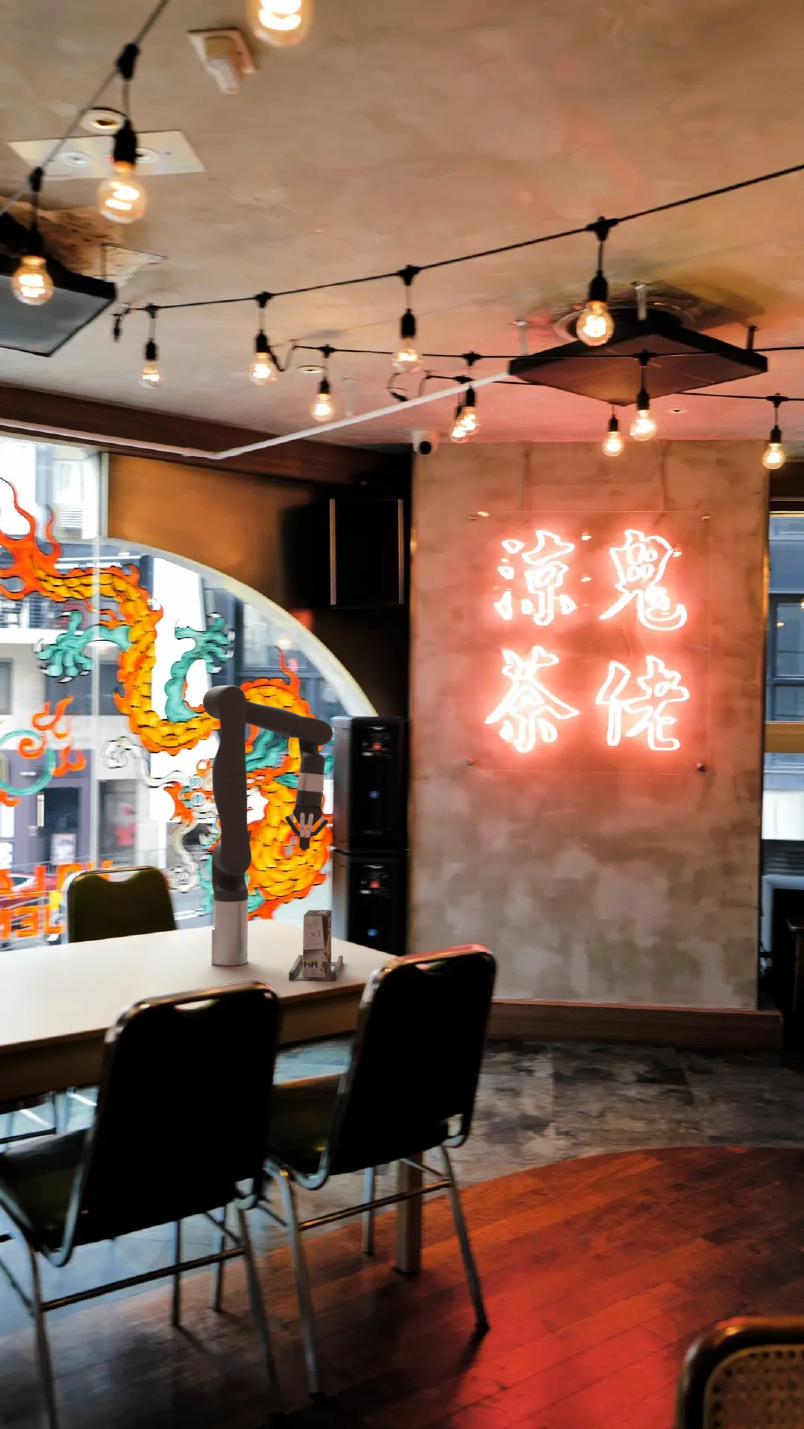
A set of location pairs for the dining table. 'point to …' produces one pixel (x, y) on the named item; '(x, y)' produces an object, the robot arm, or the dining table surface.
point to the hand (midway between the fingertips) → (303, 850)
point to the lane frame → (334, 976)
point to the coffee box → (317, 943)
